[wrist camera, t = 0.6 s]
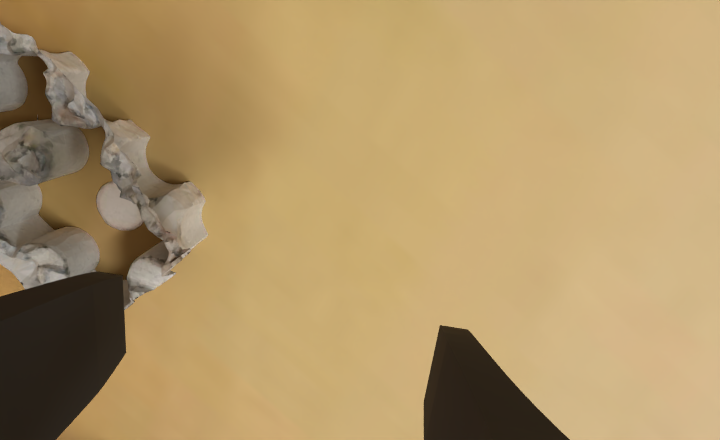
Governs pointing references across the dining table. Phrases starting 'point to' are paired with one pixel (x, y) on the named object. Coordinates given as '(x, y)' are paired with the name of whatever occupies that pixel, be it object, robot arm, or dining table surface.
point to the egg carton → (68, 155)
